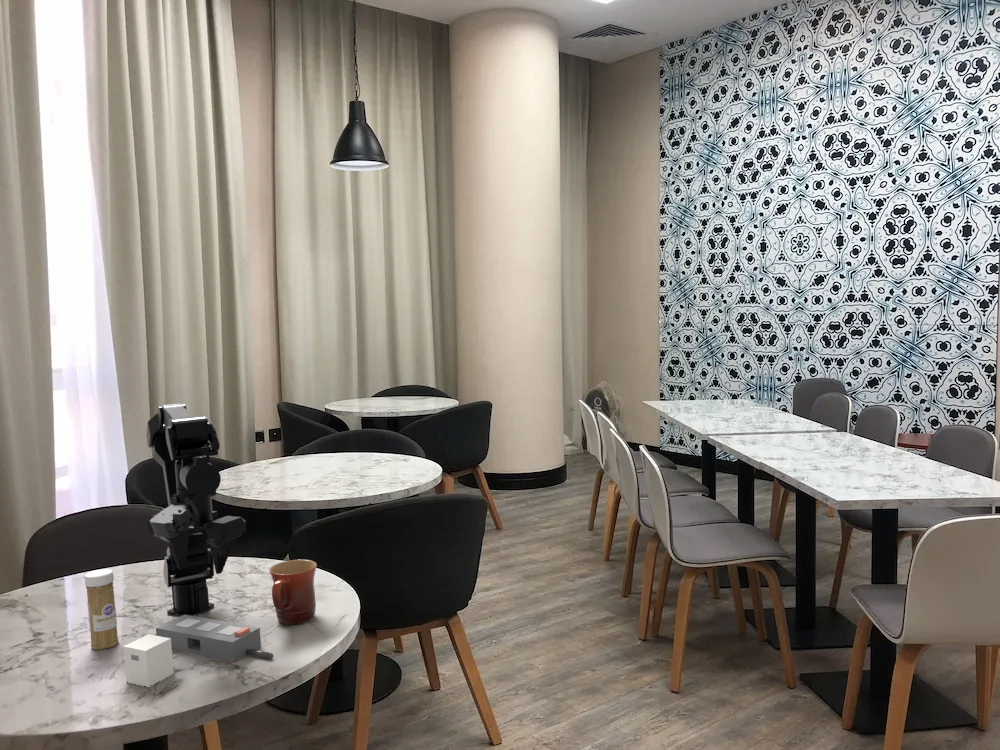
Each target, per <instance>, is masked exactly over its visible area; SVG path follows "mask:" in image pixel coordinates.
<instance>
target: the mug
mask: <svg viewBox="0 0 1000 750" xmlns="http://www.w3.org/2000/svg"><path fill="white" fill-rule="evenodd" d="M317 566H318V564H317V562H315V561H313V560H311V559H293V560H285V561H282V562H279V563H276V564H274V565H272V566H271V567H269V574H270V576H271V580H272V582H273V585H272V587H271V597H272V604H273V606H274V608H275V610H274V611H275V613H276V617H277V621H278V622H279V623H281V624H282V625H286V626H296V625H297V626H298V625H301V624H302V625H303V624H304V623H305V624H306V623H307V622H310V621H312V619H313V618H314V617H315V615H316V608H317V607H316V606H317V603H316V592H315V591H316V590H315V575H316V570H317Z"/></svg>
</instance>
